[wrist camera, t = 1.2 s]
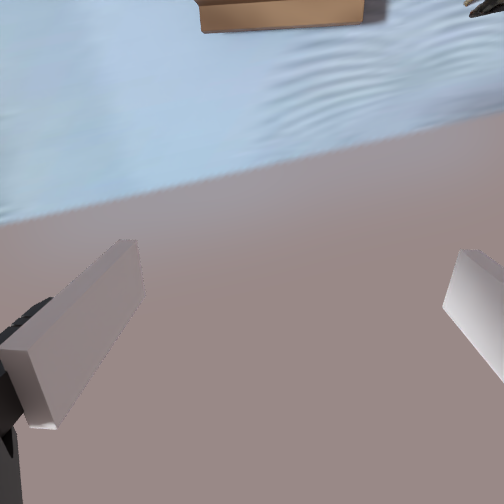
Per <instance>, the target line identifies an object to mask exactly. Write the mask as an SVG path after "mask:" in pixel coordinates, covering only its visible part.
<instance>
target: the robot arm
mask: <svg viewBox="0 0 504 504" xmlns="http://www.w3.org/2000/svg"><path fill="white" fill-rule="evenodd" d="M145 296H146V293H145V287H144V280H143V274H142V268H141V262H140V255H139V250H138V243H137V240H118V241H117V242H116V243H115V244H114V245H113V246H111V247H110V248H109V249H108V250H107V251H106V252H105V253H104V254H102V255H101V256H100V257H99V258H98V259H97V260H96V261H95V262H94V263H92V264H91V265H90V266H89V267H88V268H87V269H86V270H84V271H83V272H82V273H81V274H80V275H79V276H78V277H76V278H75V279H74V280H73V281H72V282H71V283H70V284H69V285H67V286H66V287H65V288H64V289H63V290H62V291H61V292H60V293H58V294H57V295H56V296H55V297H49V298H47V299H45V300H44V301H42V302H40V303H38V304H36V305H34V306H33V307H31V308H30V309H29V310H28V311H27V312H26V313H24V314H23V315H22V316H21V318H18V319H17V320H16V321H15V322H14V323H12V325H11V327H8V328H7V329H5V330H4V331H3V332H2V333H1V334H0V504H23V501H22V490H21V479H20V467H19V454H18V442H17V433H16V431H15V429H14V427H13V425H14V423H15V422H16V421H17V420H18V419H19V417H20V416H21V415H22V414H23V413H24V415H25V418H26V420H27V422H28V425H29V427H30V428H42V429H56V430H57V429H58V427H59V425H60V424H61V422H62V421H63V420H64V418H65V417H66V415H67V414H68V412H69V411H70V409H71V408H72V406H73V405H74V403H75V401H76V400H77V398H78V397H79V396H80V394H81V392H82V391H83V390H84V388H85V387H86V385H87V384H88V382H89V380H90V379H91V377H92V376H93V375H94V373H95V372H96V370H97V369H98V367H99V365H100V364H101V363H102V361H103V360H104V358H105V357H106V355H107V354H108V352H109V351H110V349H111V347H112V346H113V344H114V343H115V341H116V340H117V338H118V337H119V335H120V334H121V332H122V331H123V329H124V328H125V326H126V325H127V323H128V322H129V320H130V319H131V317H132V316H133V314H134V313H135V311H136V310H137V308H138V307H139V305H140V304H141V302H142V301H143V299H144V298H145ZM442 308H443V309H444V310H445V311H446V313H447V314H448V315H449V316H450V317H451V319H452V320H453V321H454V322H455V324H456V325H457V326H458V327H459V329H460V330H461V331H462V332H463V333H464V335H465V336H466V337H467V338H468V339H469V341H470V342H471V343H472V344H473V345H474V347H475V348H476V349H477V351H478V352H479V353H480V354H481V356H482V357H483V358H484V359H485V361H486V362H487V363H488V364H489V365H490V367H491V368H492V369H493V370H494V372H495V373H496V374H497V375H498V376H499V378H500V379H501V380H502V381H503V383H504V267H503V266H501V265H500V264H498V263H497V262H496V261H494V260H493V259H492V258H490V257H489V256H487V255H486V254H485V253H483V252H482V251H480V250H460V251H459V254H458V257H457V261H456V264H455V267H454V271H453V274H452V277H451V280H450V284H449V287H448V290H447V293H446V297H445V300H444V303H443V307H442Z"/></svg>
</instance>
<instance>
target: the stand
mask: <svg viewBox="0 0 504 504" xmlns="http://www.w3.org/2000/svg"><path fill="white" fill-rule="evenodd" d="M194 1H195V2H196V3H197V4H198V6H199V11H200V22H201V31H202V32H203V33H204V34H207V33H224V32H241V31H258V30H274V29H291V28H308V27H325V26H342V25H358V24H360V23H361V22H363V11H364V0H194Z"/></svg>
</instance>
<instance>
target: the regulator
mask: <svg viewBox="0 0 504 504" xmlns="http://www.w3.org/2000/svg"><path fill="white" fill-rule="evenodd" d="M472 1H473V0H466V1H465V2H464V5H465V6H467V5H468V4H470V3H471V2H472ZM501 11H504V0H485V1H484V2H483V3H482V4H479V5H478V6H477V7H476V8H475V9H474V10H472V11H471V12H470V15H469V17H470V18H474V17H478V16H483V15H487V14H491V13H496V12H501Z"/></svg>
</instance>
